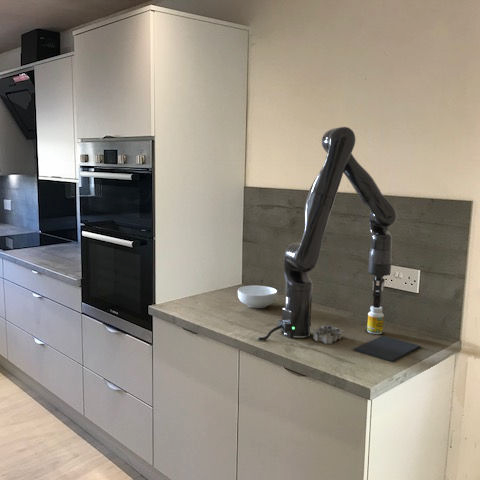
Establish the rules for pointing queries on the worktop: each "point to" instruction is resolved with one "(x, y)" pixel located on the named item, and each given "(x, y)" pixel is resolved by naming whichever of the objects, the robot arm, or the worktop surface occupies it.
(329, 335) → the egg carton
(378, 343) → the placemat
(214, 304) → the worktop surface
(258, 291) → the cereal bowl
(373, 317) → the supplement bottle
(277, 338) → the worktop surface
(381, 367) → the worktop surface
